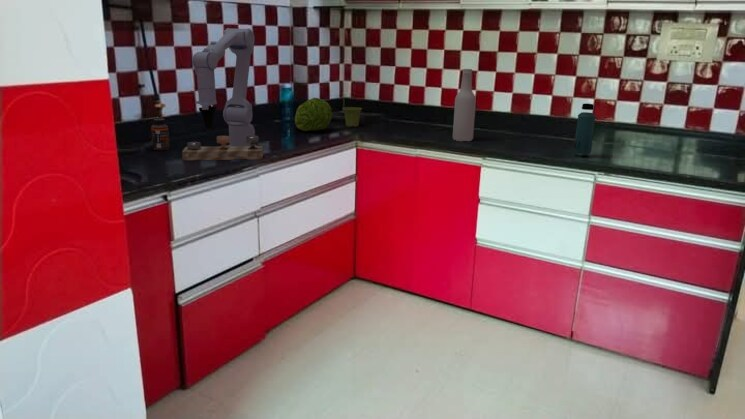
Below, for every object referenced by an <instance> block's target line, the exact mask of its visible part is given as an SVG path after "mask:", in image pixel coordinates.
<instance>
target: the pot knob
mask: <svg viewBox="0 0 745 419" xmlns="http://www.w3.org/2000/svg"><path fill="white" fill-rule="evenodd" d="M216 143H217V144H220V146H221V148H226V146H227V144H230V137H229V135H217V136H216Z"/></svg>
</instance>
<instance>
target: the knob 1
mask: <svg viewBox="0 0 745 419" xmlns="http://www.w3.org/2000/svg"><path fill="white" fill-rule="evenodd" d="M201 143H202V142H200V141H189V142H187V147H188V149H189V150H198V149H201V147H202V144H201Z"/></svg>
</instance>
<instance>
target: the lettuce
mask: <svg viewBox="0 0 745 419" xmlns="http://www.w3.org/2000/svg"><path fill="white" fill-rule="evenodd" d="M332 118H333V112H332V107H331V105H330V104H329V103H328V101H326V100H323V99H321V98H319V97H313V98H312V97H311V98H310V99H308V100H306V101H305V102H303V103H300V105H299V106H298V108H296V112H295V116H294V124H295V126H296V128H297V129H299V130H301V131H302V132H304V131H305V132H310V131H311V132H318V131H321V130H325V129H327V127H329V124H330V123H331V120H332Z"/></svg>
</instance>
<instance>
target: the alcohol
mask: <svg viewBox="0 0 745 419" xmlns="http://www.w3.org/2000/svg"><path fill="white" fill-rule="evenodd" d="M472 82H473V69H471V68H463V69H462V77H461V85H460V89H459V92H457V94H456V96H455V98H454V109H453V110H454V111H453V127H452V139H453V141H455V140H456V142H463V141H467V142H471V141H472V140H474V133H475V132H474V131H475V130H474V129H475V116H476V103H477V99H476V94H474V92H473V88H472V87H473V86H472V84H473V83H472Z"/></svg>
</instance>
